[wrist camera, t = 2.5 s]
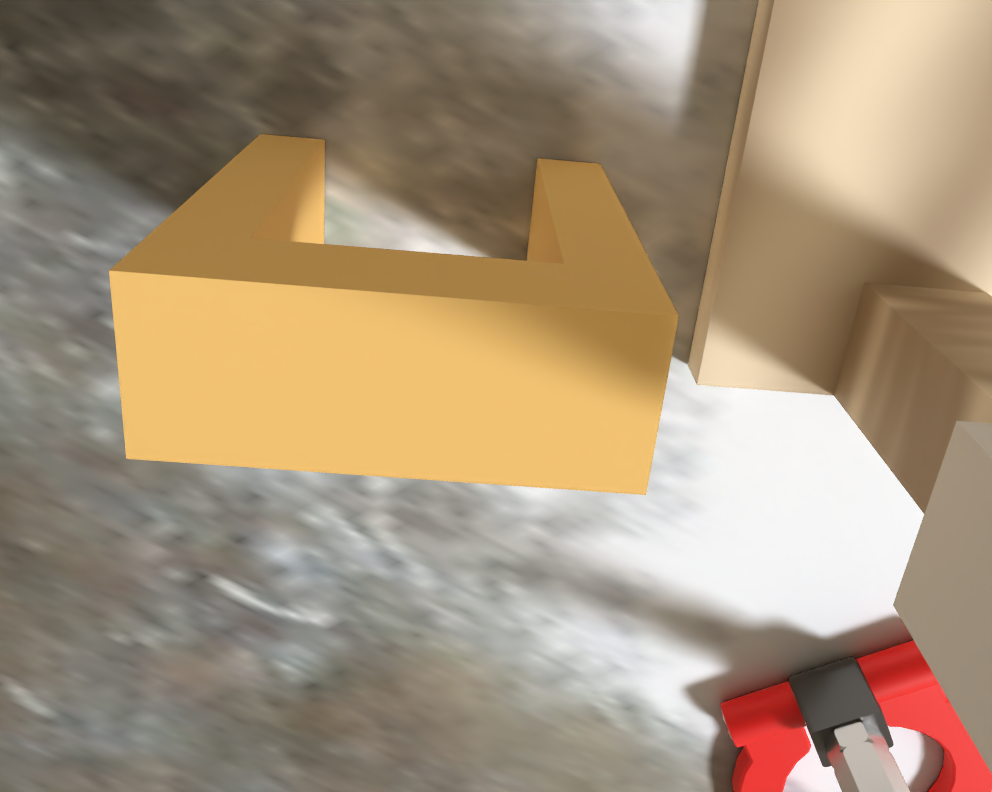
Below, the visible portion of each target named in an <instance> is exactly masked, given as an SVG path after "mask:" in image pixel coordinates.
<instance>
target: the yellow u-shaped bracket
mask: <svg viewBox="0 0 992 792" xmlns="http://www.w3.org/2000/svg"><path fill="white" fill-rule="evenodd" d="M324 193H325V140H323V139H312V138H300V137H289V136H277V135H266V134H260V135H259V136H258V137H257V138H255V139H254V140H253V141H252V142H251V143H250V144H249V145H248V146H247V147H245V148H244V149H243V150H242V151H241V152H240V153H239V154H238V155H237V156H235V157H234V158H233V159H232V160H231V161H230V162H229V163H228V164H227V165H226V166H224V167H223V168H222V169H221V170H220V171H219V172H218V173H217V174H216V175H214V176H213V177H212V178H211V179H210V180H209V181H208V182H207V183H206V184H204V185H203V186H202V187H201V188H200V189H199V190H198V191H197V192H196V193H195V194H193V195H192V196H191V197H190V198H189V199H188V200H187V201H186V202H185V203H183V204H182V205H181V206H180V207H179V208H178V209H177V210H176V211H175V212H173V213H172V214H171V215H170V216H169V217H168V218H167V219H166V220H165V221H164V222H162V223H161V224H160V225H159V226H158V227H157V228H156V229H155V230H154V231H152V232H151V233H150V234H149V235H148V236H147V237H146V238H145V239H144V240H142V241H141V242H140V243H139V244H138V245H137V246H136V247H135V248H134V249H133V250H131V251H130V252H129V253H128V254H127V255H126V256H125V257H124V258H123V259H121V260H120V261H119V262H118V263H117V264H116V265H115V266H114V267H113V268H112V269H110V270H109V274H110V285H111V296H112V307H113V318H114V329H115V340H116V351H117V361H118V372H119V383H120V394H121V405H122V416H123V427H124V438H125V449H126V459H139V460H153V461H167V462H182V463H196V464H210V465H225V466H239V467H253V468H268V469H282V470H296V471H311V472H325V473H339V474H354V475H368V476H382V477H397V478H411V479H425V480H440V481H454V482H468V483H483V484H497V485H511V486H526V487H540V488H554V489H569V490H583V491H597V492H612V493H626V494H640V495H646V491H647V486H648V481H649V475H650V470H651V464H652V459H653V454H654V448H655V443H656V437H657V432H658V427H659V421H660V416H661V410H662V405H663V400H664V394H665V389H666V383H667V378H668V372H669V367H670V362H671V356H672V351H673V345H674V340H675V335H676V329H677V324H678V318H679V315H678V313H677V311H676V309H675V307H674V305H673V303H672V302H671V300H670V298H669V296H668V294H667V292H666V290H665V288H664V286H663V284H662V282H661V280H660V278H659V276H658V274H657V272H656V271H655V269H654V267H653V265H652V263H651V261H650V259H649V257H648V255H647V253H646V251H645V249H644V247H643V245H642V243H641V241H640V240H639V238H638V236H637V234H636V232H635V230H634V228H633V226H632V224H631V222H630V220H629V218H628V216H627V214H626V212H625V211H624V209H623V207H622V205H621V203H620V201H619V199H618V197H617V195H616V193H615V191H614V189H613V187H612V185H611V183H610V181H609V180H608V178H607V176H606V174H605V172H604V170H603V168H602V166H601V164H597V163H586V162H575V161H563V160H552V159H540V158H538V159H537V168H536V177H535V187H534V196H533V205H532V215H531V224H530V233H529V243H528V252H527V261H524V260H512V259H500V258H488V257H475V256H463V255H451V254H439V253H427V252H414V251H402V250H390V249H378V248H366V247H353V246H341V245H329V244H324Z"/></svg>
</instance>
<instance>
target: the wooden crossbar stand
mask: <svg viewBox="0 0 992 792" xmlns="http://www.w3.org/2000/svg"><path fill="white" fill-rule="evenodd" d="M688 367H689V369H690V371H691V373H692V375H693V377H694V379H695V381H696V383H697V385H705V386H718V387H732V388H745V389H758V390H771V391H784V392H797V393H811V394H824V395H834V396H835V397H836V399H837V400H838V401H839V403H840V404H841V405H842V407H843V408H844V409H845V410H846V412H847V413H848V414H849V416H850V417H851V418H852V420H853V421H854V422H855V424H856V425H857V426H858V428H859V429H860V430H861V431H862V433H863V434H864V435H865V437H866V438H867V439H868V441H869V442H870V443H871V445H872V446H873V447H874V449H875V450H876V451H877V452H878V454H879V455H880V456H881V458H882V459H883V460H884V462H885V463H886V464H887V466H888V467H889V468H890V470H891V471H892V472H893V473H894V475H895V476H896V477H897V479H898V480H899V481H900V483H901V484H902V485H903V487H904V488H905V489H906V491H907V492H908V493H909V494H910V496H911V497H912V498H913V500H914V501H915V502H916V504H917V505H918V506H919V508H920V509H921V510H922V512H923V513H924V514H925V511H926V508H927V505H928V503H929V500H930V497H931V494H932V491H933V488H934V485H935V482H936V479H937V476H938V473H939V471H940V468H941V465H942V462H943V459H944V456H945V453H946V450H947V447H948V444H949V442H950V439H951V436H952V433H953V430H954V427H955V424H956V421H967V422H979V423H991V424H992V0H759V1H758V6H757V12H756V17H755V22H754V27H753V32H752V37H751V42H750V48H749V53H748V58H747V63H746V68H745V73H744V79H743V84H742V89H741V94H740V99H739V104H738V109H737V115H736V120H735V125H734V130H733V135H732V140H731V146H730V151H729V156H728V161H727V166H726V171H725V176H724V182H723V187H722V192H721V197H720V202H719V207H718V212H717V218H716V223H715V228H714V233H713V238H712V243H711V249H710V254H709V259H708V264H707V269H706V274H705V279H704V285H703V290H702V295H701V300H700V305H699V310H698V316H697V321H696V326H695V331H694V336H693V341H692V346H691V352H690V357H689V362H688Z"/></svg>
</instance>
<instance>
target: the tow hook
mask: <svg viewBox="0 0 992 792" xmlns="http://www.w3.org/2000/svg"><path fill="white" fill-rule="evenodd" d="M789 683H790V684H789ZM721 710H722V716H723V720H724V723H725V725H726V728H727V731H728V733H729V735H730V738H731V739H732V740H733V742H734V744H735V745H736V747H737V748H738V747H741V746H744V748H743V749H742V751H741V752H740V754H739V755H738V758H737V761H736V765H735V769H734V773H733V777H732V786H733V792H783V789H784V785H785V782H786V779H787V776H788V775H789V773H790V772H791V770H792V769H793V768H794V766H795V765H796V763H797V762H798V761H799V760H800V759H801V758H803V757H804V756H805V755H806V754H807V753H808V752H809V750H810V747H811V744H810V741H809V739H808V736H807V734H806V731H805V729H804V726H806V725H807V728H808V730H809V733H810V735H811V738H812V740H813V743H814V745H815V748H816V750H817V753H818V755H819V758H820V760H821V763H822V765H823V767H829V766H832V767H833V768H834V771H835V775H836V778H837V780H838V783H839V785H840V788H841V790H842V792H910V790H909V788H908V786H907V784H906V782H905V780H904V778H903V776H902V774H901V772H900V770H899V768H898V766H897V763H896V761H895V759H894V757H893V756H892V754H891V753H890V752H889V748H890V747H892V746H893V741H892V738H891V735H890V732H889V729H888V726H890V727H903V728H907V729H911V730H916V731H920V732H922V733H924V734H925V735H927V736H929V737H931V738H933V739H935V740H936V741H937V742H938V743H939V744H940V745H941V746H942V747H943V749H944V765H943V767H942V770H941V772H940V775H939V777H938V780H937V781H936V782H935V783H934V785H933V786H932V787H931V788H930V790H929V791H928V792H992V773H991V772H990V770H989V768H988V767H987V765H986V763H985V761H984V760H983V758H982V756H981V755H980V753H979V751H978V749H977V748H976V746H975V744H974V743H973V741H972V739H971V737H970V736H969V734H968V732H967V731H966V729H965V727H964V725H963V724H962V722H961V720H960V719H959V717H958V715H957V713H956V712H955V710H954V708H953V707H952V705H951V703H950V701H949V700H948V698H947V696H946V695H945V693H944V691H943V689H942V688H941V686H940V684H939V683H938V681H937V679H936V677H935V676H934V674H933V672H932V671H931V669H930V667H929V665H928V664H927V662H926V660H925V659H924V657H923V655H922V653H921V652H920V650H919V648H918V647H917V645H916V643H915V641H914V640H912V641H909V642H906V643H903V644H900V645H897V646H894V647H891V648H888V649H885V650H882V651H879V652H876V653H872V654H869V655H866V656H863V657H860V658H857V659H855V658H854V657H848V658H845V659H842V660H839V661H836V662H833V663H830V664H827V665H824V666H821V667H818V668H815V669H812V670H809V671H806V672H802V673H799V674H796V675H793V676H791V677H790V678H789V682H788V681H787V682H783V683H780V684H777V685H774V686H771V687H768V688H765V689H762V690H759V691H756V692H753V693H750V694H747V695H744V696H741V697H737V698H734V699H731V700H728V701H725V702H722V703H721ZM805 723H806V724H805ZM887 725H888V726H887Z"/></svg>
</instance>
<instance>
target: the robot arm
mask: <svg viewBox="0 0 992 792" xmlns="http://www.w3.org/2000/svg"><path fill="white" fill-rule="evenodd" d="M893 606H894V607H895V609H896V611H897V612H898V614H899V616H900V618H901V619H902V621H903V623H904V624H905V626H906V628H907V629H908V631H909V633H910V635H911V636H912V638H913V640H914V641H915V643H916V645H917V647H918V648H919V650H920V652H921V653H922V655H923V657H924V659H925V660H926V662H927V664H928V665H929V667H930V669H931V671H932V672H933V674H934V676H935V677H936V679H937V681H938V683H939V684H940V686H941V688H942V689H943V691H944V693H945V695H946V696H947V698H948V700H949V701H950V703H951V705H952V707H953V708H954V710H955V712H956V713H957V715H958V717H959V719H960V720H961V722H962V724H963V725H964V727H965V729H966V731H967V732H968V734H969V736H970V737H971V739H972V741H973V743H974V744H975V746H976V748H977V749H978V751H979V753H980V755H981V756H982V758H983V760H984V761H985V763H986V765H987V767H988V768H989V770H990V772H991V773H992V424H991V423H979V422H967V421H956V424H955V427H954V430H953V433H952V436H951V439H950V442H949V444H948V447H947V450H946V453H945V456H944V459H943V462H942V465H941V468H940V471H939V473H938V476H937V479H936V482H935V485H934V488H933V491H932V494H931V497H930V500H929V503H928V505H927V508H926V511H925V514H924V517H923V520H922V523H921V526H920V529H919V532H918V534H917V537H916V540H915V543H914V546H913V549H912V552H911V555H910V558H909V561H908V563H907V566H906V569H905V572H904V575H903V578H902V581H901V584H900V587H899V590H898V593H897V595H896V598H895V601H894V604H893Z"/></svg>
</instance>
